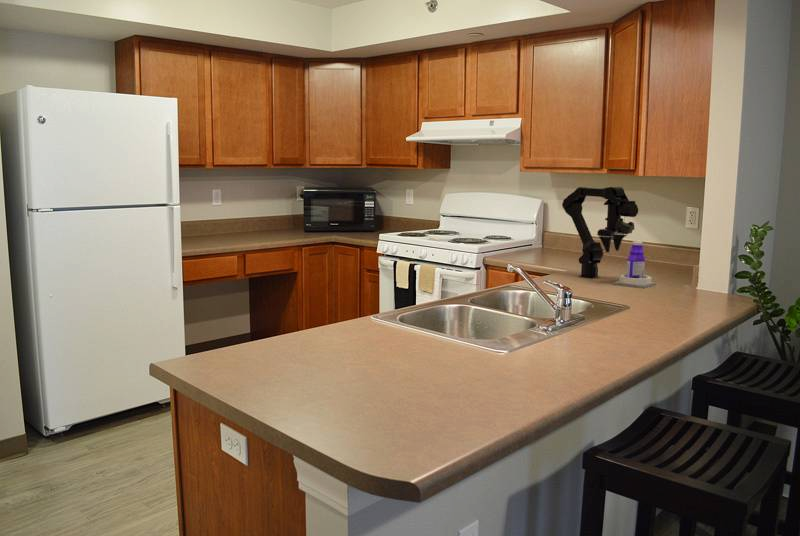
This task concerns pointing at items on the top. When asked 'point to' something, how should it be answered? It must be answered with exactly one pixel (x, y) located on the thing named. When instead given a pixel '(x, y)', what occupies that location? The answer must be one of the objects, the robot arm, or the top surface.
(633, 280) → the dock
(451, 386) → the top surface
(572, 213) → the robot arm
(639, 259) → the bottle
